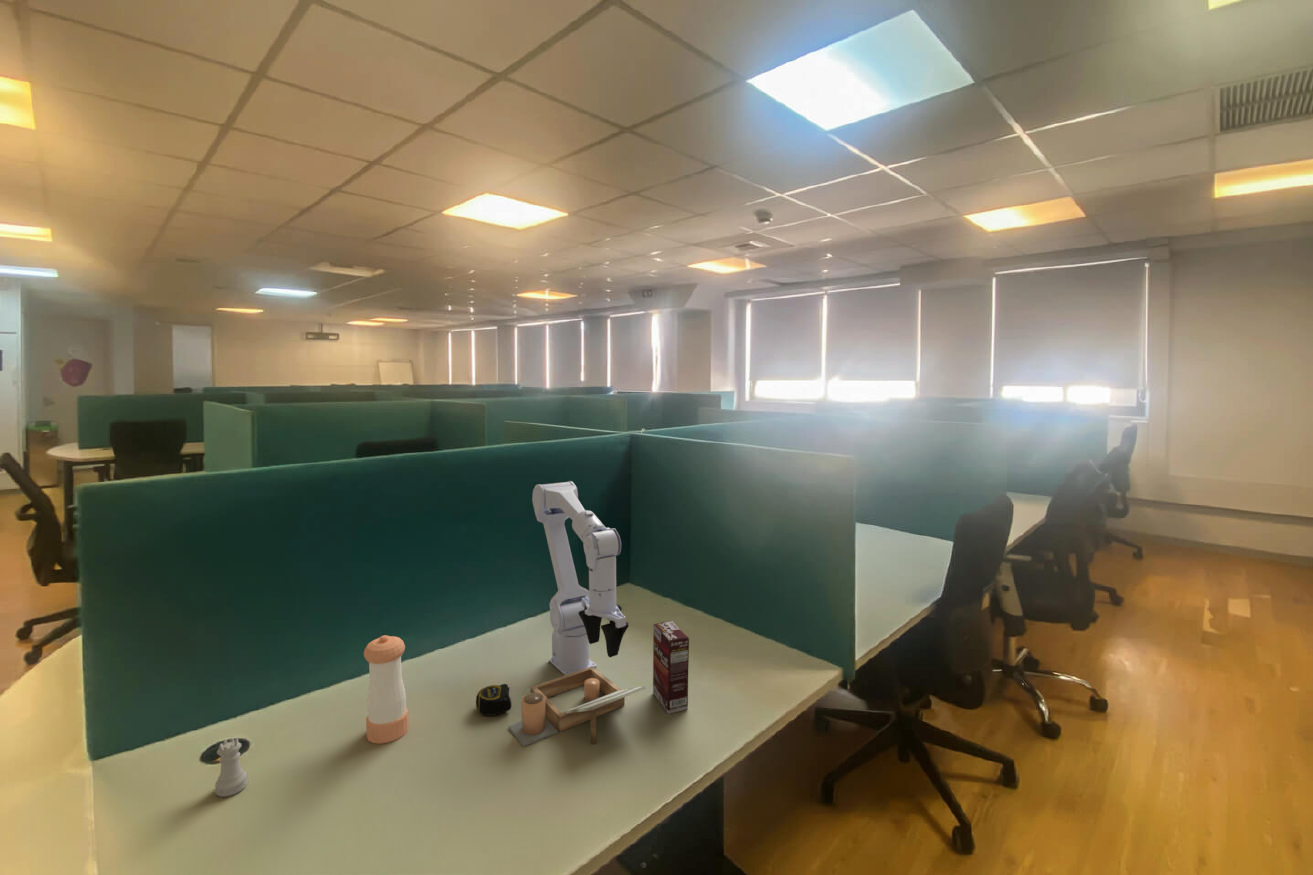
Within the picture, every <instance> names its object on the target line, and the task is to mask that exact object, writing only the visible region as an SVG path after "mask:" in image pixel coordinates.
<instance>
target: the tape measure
mask: <svg viewBox="0 0 1313 875" xmlns="http://www.w3.org/2000/svg"><path fill="white" fill-rule="evenodd" d="M510 689H511V688H510V687H509V685H508V684H507V683H502V684H500V685H496V684H495V685H494V684H493V685H492V684H491V685H488V686H485V687H483V688H481V689H480V690H479V691H478V693H477V695H476V697H475V707H476V709H477V711H478V712H479V713H480V714H482V715H485V716H495V715H499V714H501V713H502V714H503V713H505V712H509V711H510V710H511V708H512V700H511V697H510Z"/></svg>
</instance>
